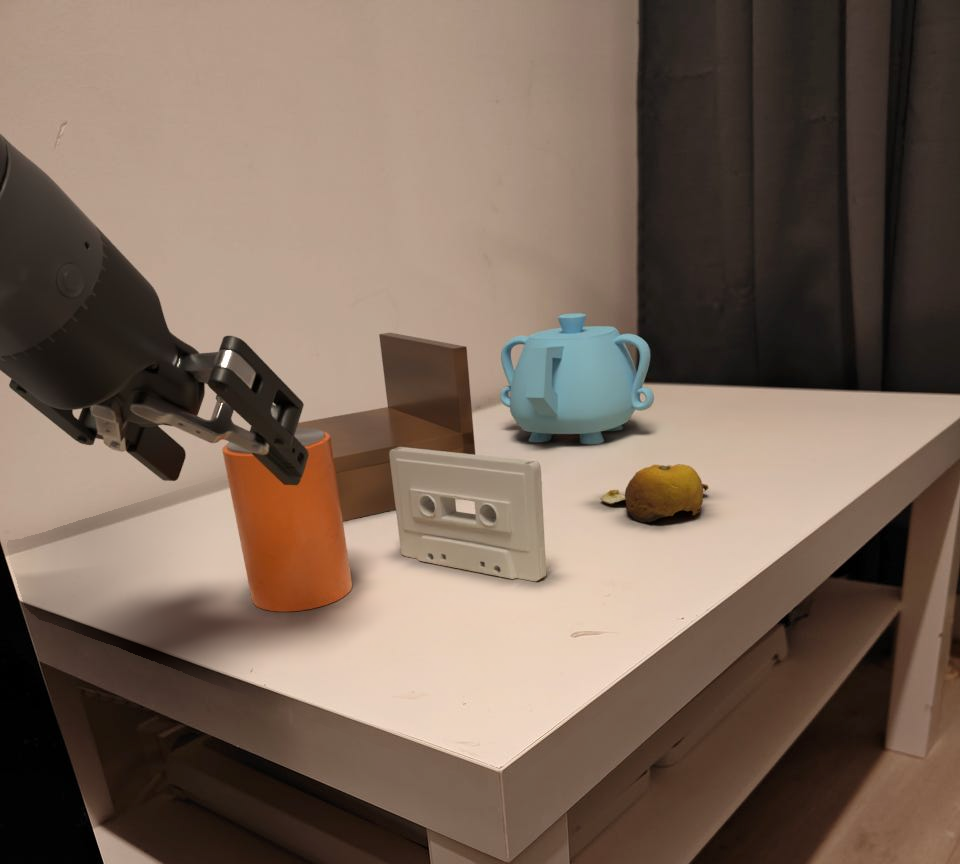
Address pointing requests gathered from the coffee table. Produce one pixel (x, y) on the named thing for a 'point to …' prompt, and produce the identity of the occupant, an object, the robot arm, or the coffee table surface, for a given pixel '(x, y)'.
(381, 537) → the coffee table surface
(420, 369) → the shelf
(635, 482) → the fruit
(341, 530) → the can
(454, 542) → the cassette
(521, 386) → the teapot
